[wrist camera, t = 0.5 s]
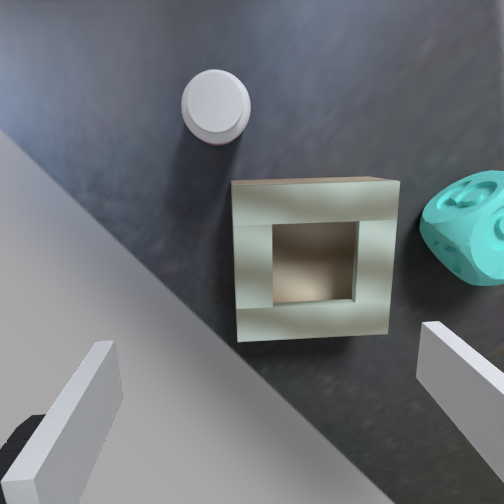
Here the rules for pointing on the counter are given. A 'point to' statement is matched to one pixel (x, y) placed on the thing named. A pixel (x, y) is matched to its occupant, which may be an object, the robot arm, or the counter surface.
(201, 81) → the pill bottle
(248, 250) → the grey hollow square block
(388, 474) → the counter surface
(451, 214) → the engraved teal number block
